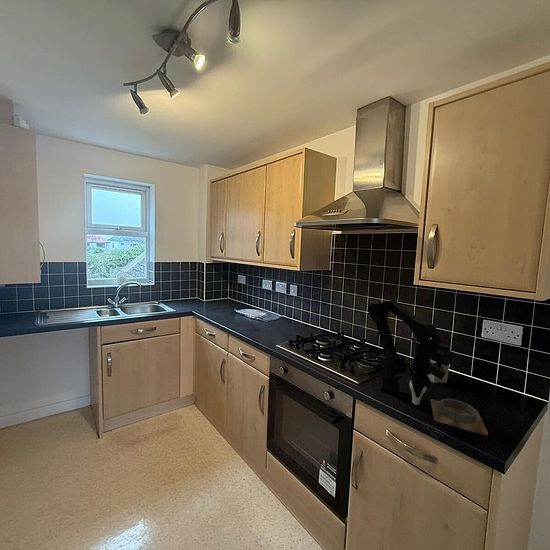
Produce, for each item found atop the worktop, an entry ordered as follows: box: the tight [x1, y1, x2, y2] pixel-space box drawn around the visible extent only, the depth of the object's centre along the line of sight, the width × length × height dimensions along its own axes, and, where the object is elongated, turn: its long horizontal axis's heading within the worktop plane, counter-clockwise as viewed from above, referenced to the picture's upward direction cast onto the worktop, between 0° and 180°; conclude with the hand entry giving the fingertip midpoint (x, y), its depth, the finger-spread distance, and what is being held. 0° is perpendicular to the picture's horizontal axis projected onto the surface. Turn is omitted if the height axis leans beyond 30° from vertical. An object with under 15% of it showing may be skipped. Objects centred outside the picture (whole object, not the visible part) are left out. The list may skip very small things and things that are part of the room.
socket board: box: [430, 398, 489, 437], centre depth 111 cm, size 16×16×4 cm
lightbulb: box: [409, 380, 428, 406], centre depth 116 cm, size 6×6×11 cm
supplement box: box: [427, 359, 450, 384], centre depth 144 cm, size 7×7×13 cm
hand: (417, 393), depth 116 cm, fingers closed on lightbulb, 6 cm apart
